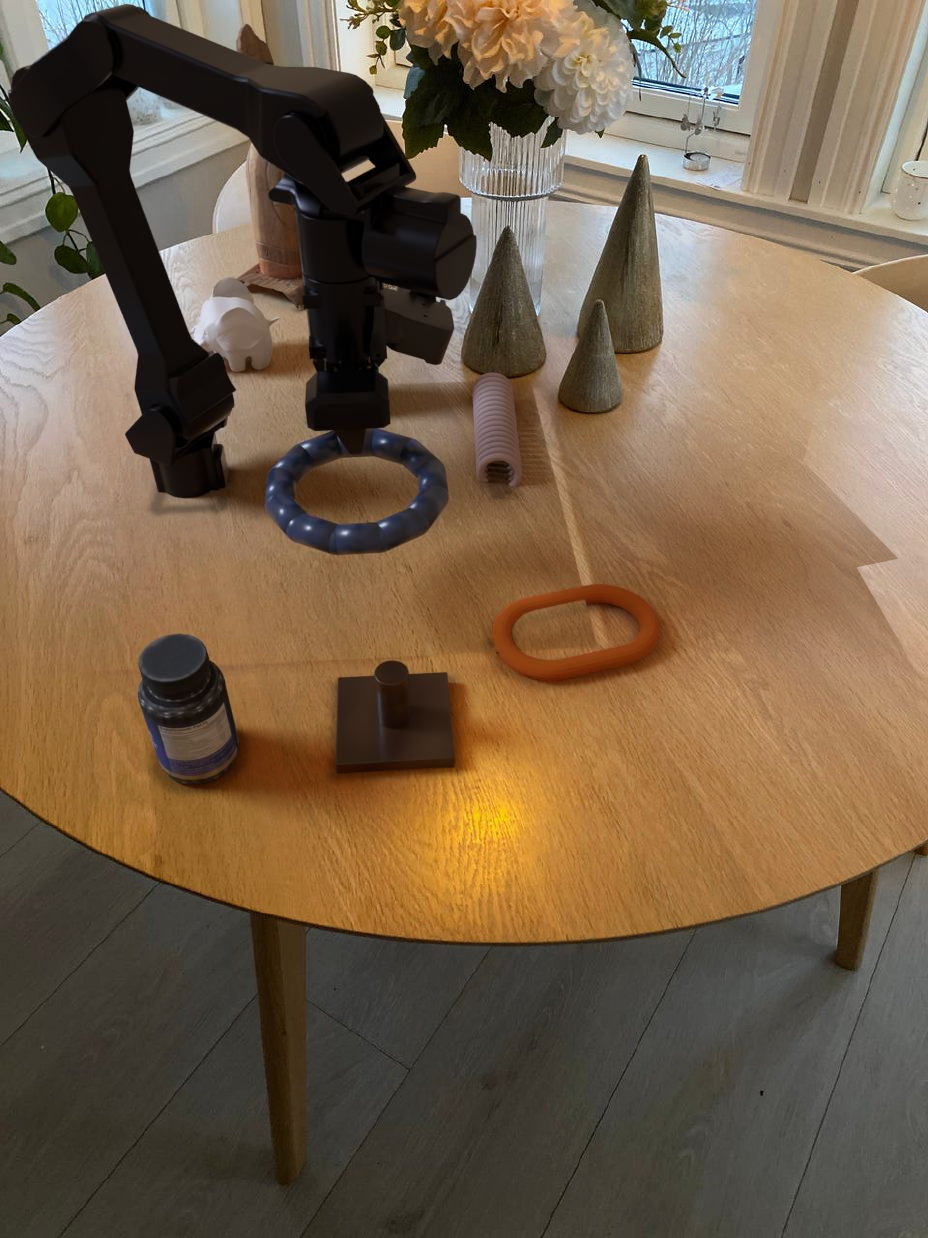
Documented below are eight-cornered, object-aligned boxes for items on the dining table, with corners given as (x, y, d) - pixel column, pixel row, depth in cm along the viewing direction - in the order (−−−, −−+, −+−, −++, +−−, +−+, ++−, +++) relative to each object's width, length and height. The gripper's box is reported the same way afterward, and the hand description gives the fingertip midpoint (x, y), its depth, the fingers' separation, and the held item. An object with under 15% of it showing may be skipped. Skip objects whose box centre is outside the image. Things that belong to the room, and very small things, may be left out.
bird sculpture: (342, 277, 136) (322, 17, 114) (299, 311, 129) (269, 39, 107) (275, 263, 140) (243, 7, 118) (229, 295, 132) (185, 27, 110)
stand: (336, 774, 73) (329, 721, 69) (338, 686, 79) (332, 633, 75) (454, 767, 73) (455, 714, 69) (447, 681, 80) (447, 628, 76)
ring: (263, 566, 74) (258, 542, 72) (272, 450, 84) (268, 427, 82) (455, 555, 75) (455, 531, 73) (440, 442, 85) (440, 419, 83)
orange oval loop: (476, 603, 84) (632, 571, 88) (476, 617, 86) (629, 585, 89) (513, 681, 78) (680, 643, 81) (512, 695, 79) (677, 657, 82)
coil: (525, 460, 96) (515, 370, 109) (479, 456, 95) (474, 366, 108) (518, 498, 99) (509, 406, 112) (474, 494, 99) (469, 402, 112)
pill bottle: (166, 727, 76) (135, 627, 68) (244, 723, 76) (221, 623, 69) (154, 790, 72) (119, 691, 64) (237, 785, 72) (212, 686, 64)
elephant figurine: (184, 349, 121) (169, 281, 114) (279, 337, 123) (270, 269, 117) (191, 387, 114) (176, 316, 108) (291, 373, 117) (282, 303, 110)
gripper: (457, 320, 66) (457, 504, 77) (437, 217, 79) (440, 385, 90) (294, 326, 65) (317, 511, 76) (302, 221, 79) (321, 391, 89)
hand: (355, 444), depth 83 cm, fingers closed on ring, 2 cm apart
